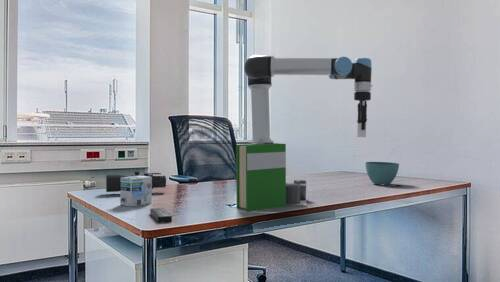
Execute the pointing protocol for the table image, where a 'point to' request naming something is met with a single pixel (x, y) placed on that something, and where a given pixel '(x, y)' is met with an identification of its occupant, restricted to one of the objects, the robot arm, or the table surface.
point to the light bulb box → (136, 190)
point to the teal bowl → (381, 172)
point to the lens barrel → (302, 189)
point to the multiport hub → (160, 215)
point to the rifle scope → (115, 180)
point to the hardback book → (260, 176)
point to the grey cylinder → (292, 193)
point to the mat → (300, 203)
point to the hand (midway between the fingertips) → (361, 137)
